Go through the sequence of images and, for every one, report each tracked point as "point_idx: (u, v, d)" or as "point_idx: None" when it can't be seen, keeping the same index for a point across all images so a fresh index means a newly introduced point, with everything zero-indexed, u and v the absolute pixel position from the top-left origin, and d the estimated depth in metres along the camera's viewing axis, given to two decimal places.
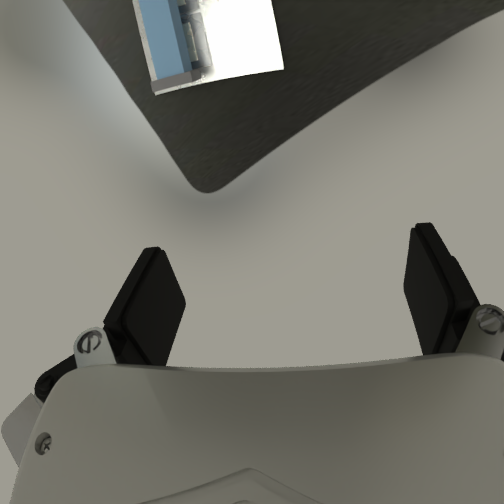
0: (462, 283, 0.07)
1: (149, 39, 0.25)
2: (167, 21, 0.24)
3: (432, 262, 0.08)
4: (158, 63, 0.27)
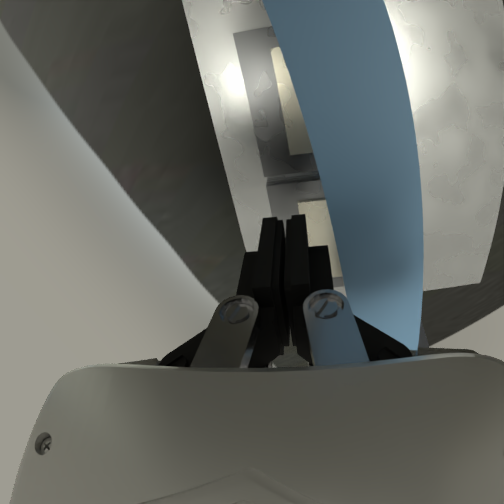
0: (304, 268, 0.09)
1: (353, 301, 0.11)
2: (411, 262, 0.10)
3: (286, 249, 0.10)
4: None
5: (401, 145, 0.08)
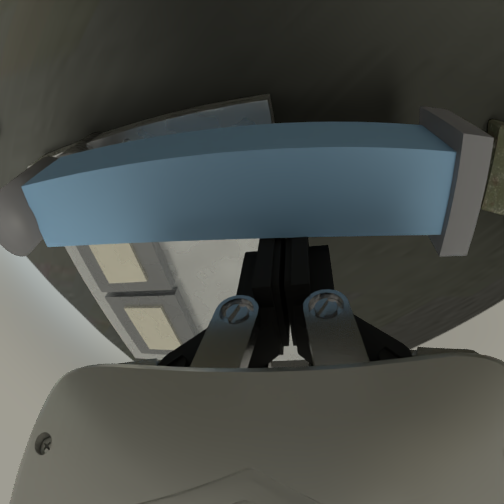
0: (304, 268, 0.09)
1: (309, 231, 0.10)
2: (260, 164, 0.09)
3: (286, 249, 0.10)
4: (398, 220, 0.09)
5: (128, 178, 0.10)
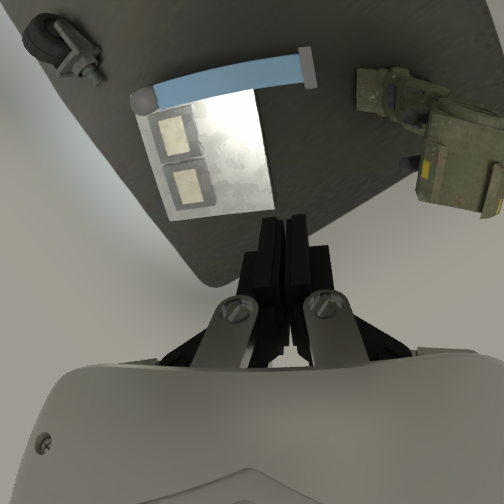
0: (304, 268, 0.09)
1: (257, 86, 0.29)
2: (240, 67, 0.28)
3: (287, 249, 0.10)
4: (286, 78, 0.28)
5: (199, 76, 0.29)
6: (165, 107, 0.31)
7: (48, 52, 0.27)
